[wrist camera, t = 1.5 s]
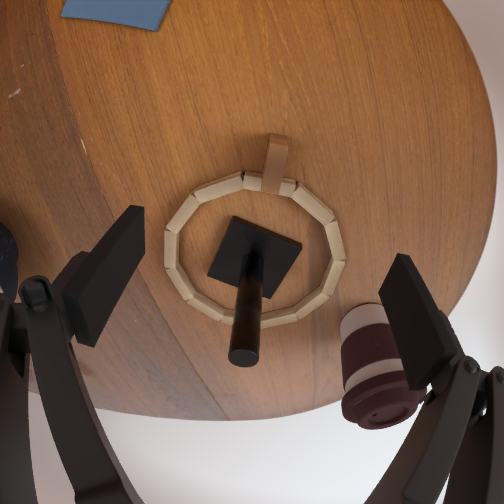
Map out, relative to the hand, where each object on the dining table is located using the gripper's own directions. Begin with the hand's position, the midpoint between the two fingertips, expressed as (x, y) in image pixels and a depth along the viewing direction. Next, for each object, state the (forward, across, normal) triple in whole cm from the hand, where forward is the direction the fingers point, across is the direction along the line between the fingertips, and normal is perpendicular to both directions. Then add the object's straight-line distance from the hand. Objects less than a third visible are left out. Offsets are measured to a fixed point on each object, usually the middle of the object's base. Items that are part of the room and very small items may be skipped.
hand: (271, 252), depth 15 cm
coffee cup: (+16, +17, -19) cm, 30 cm away
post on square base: (+16, 0, -12) cm, 20 cm away
